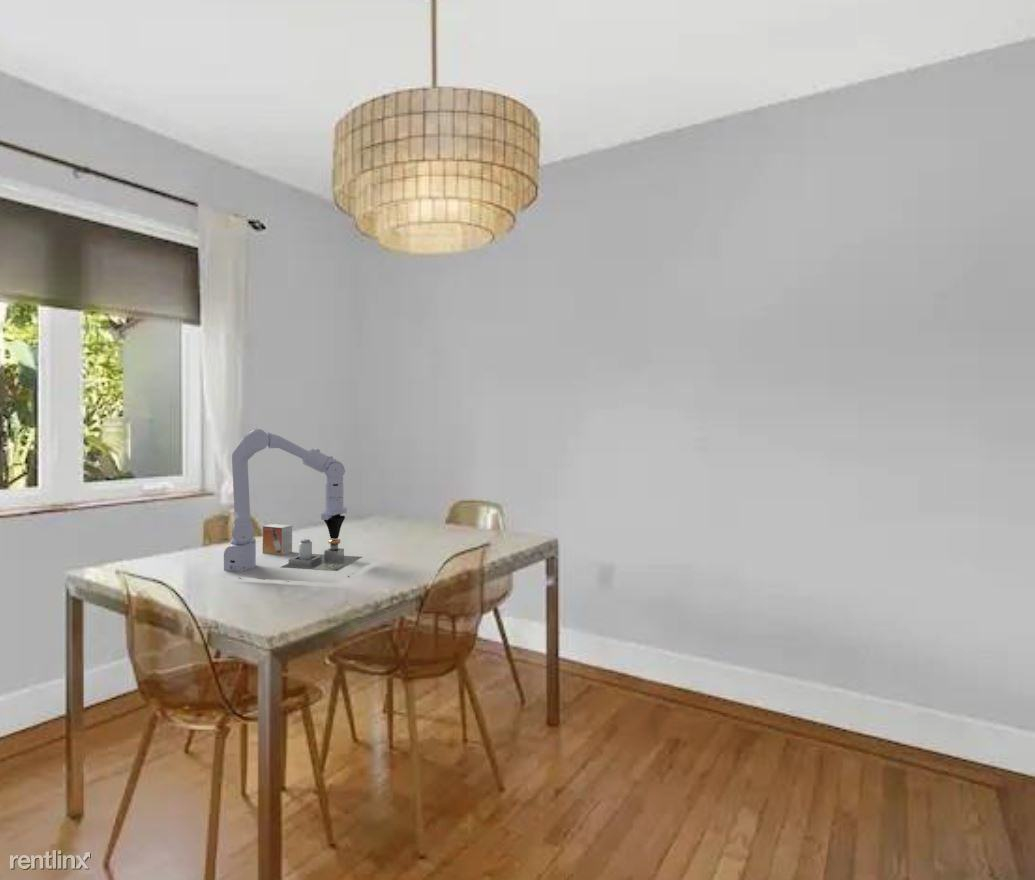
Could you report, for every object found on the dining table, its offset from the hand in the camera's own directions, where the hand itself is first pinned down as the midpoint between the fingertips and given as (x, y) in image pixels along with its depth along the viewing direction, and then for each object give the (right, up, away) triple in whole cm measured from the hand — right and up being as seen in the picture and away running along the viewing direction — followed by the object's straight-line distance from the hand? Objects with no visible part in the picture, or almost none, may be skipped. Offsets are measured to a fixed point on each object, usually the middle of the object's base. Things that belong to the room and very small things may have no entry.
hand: (334, 538), depth 211 cm
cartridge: (-8, -7, -4) cm, 12 cm away
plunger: (0, -5, 0) cm, 5 cm away
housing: (-3, -8, -3) cm, 9 cm away
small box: (-22, -8, +9) cm, 25 cm away
